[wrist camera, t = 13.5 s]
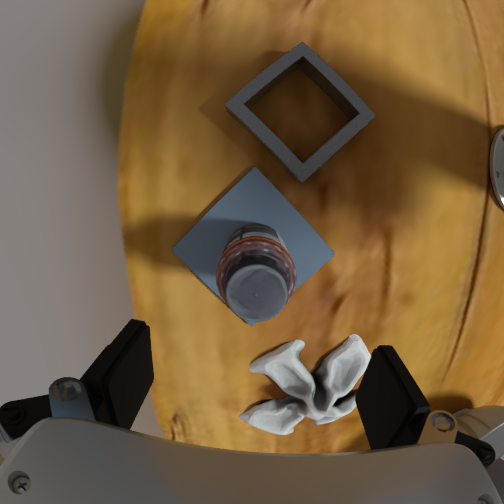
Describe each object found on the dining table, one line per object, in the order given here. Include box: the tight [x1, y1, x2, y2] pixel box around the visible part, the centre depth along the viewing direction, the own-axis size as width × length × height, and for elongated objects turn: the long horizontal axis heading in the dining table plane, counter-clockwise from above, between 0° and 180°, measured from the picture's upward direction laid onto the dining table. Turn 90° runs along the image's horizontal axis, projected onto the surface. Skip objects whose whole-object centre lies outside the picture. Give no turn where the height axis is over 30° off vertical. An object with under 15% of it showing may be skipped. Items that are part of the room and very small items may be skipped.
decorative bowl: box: [452, 405, 504, 460], centre depth 33 cm, size 27×27×12 cm
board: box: [171, 167, 335, 327], centre depth 29 cm, size 12×12×1 cm
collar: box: [224, 42, 376, 183], centre depth 24 cm, size 10×10×3 cm
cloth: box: [240, 334, 371, 435], centre depth 32 cm, size 22×19×6 cm
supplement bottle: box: [216, 223, 297, 322], centre depth 23 cm, size 6×6×11 cm
